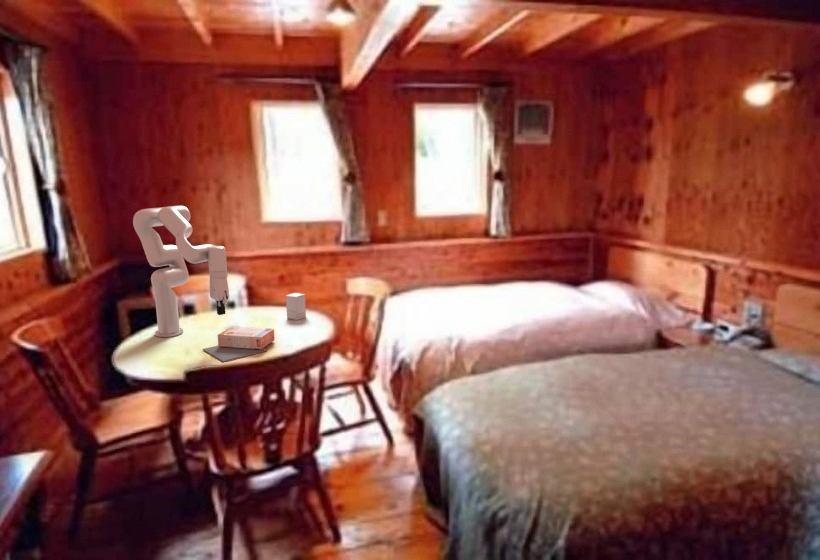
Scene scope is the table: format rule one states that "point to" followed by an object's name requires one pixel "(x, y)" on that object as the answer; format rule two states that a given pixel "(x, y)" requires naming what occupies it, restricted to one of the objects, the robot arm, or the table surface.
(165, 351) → the table surface
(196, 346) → the table surface
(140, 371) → the table surface
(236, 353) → the mat
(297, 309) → the supplement box
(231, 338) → the cracker box
